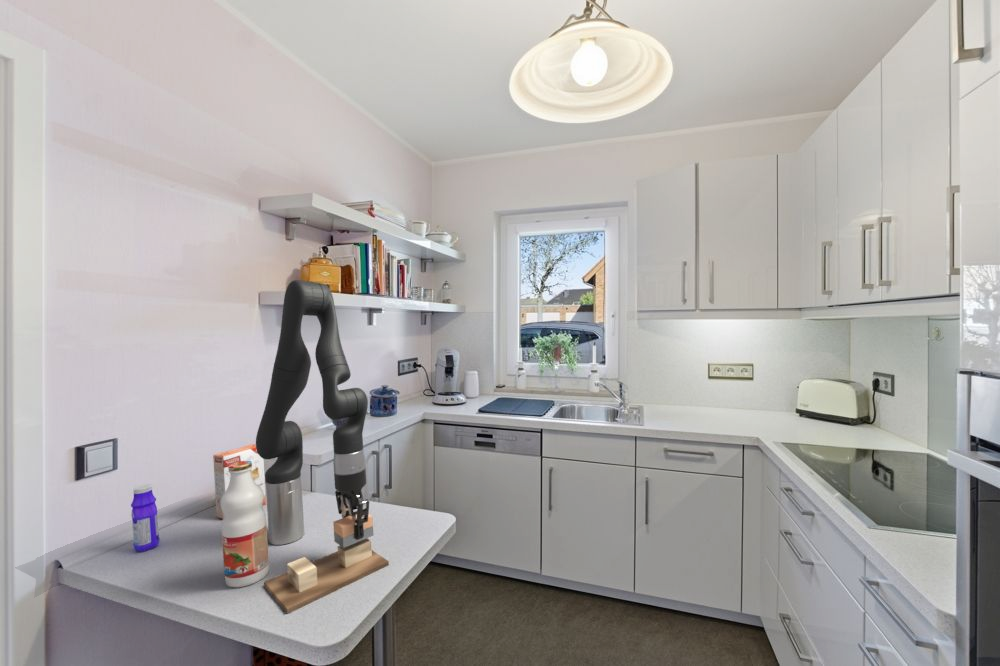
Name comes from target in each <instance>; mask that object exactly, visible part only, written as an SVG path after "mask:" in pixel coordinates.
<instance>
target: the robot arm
mask: <svg viewBox="0 0 1000 666" xmlns="http://www.w3.org/2000/svg"><path fill="white" fill-rule="evenodd" d="M333 296H334V295H333V293H332V290H331V288H330V287H329V286H328V285H327V284H325V283H322V282H316V281H308V280H299V279H295V280H292V281H290V283H288V285H287V286H286V290H285V293H284V296H283V298H284V299H283V305H282V313H281V314H282V315H281V316H282V317H281V326H280V334H279V340H278V346H277V351H276V354H275V358H274V363H273V368H272V373H271V378H270V385H269V389H268V394H267V397H266V402H265V407H264V410H263V413H262V417H261V419H260V422H259V425H258V428H257V433H256V436H255V437H256V438H255V444H256V449H257V452H258V454H259V456H260V457H261V458H263V459H264V460H272V459H273V460H274V459H276V458H277V459H276V460H275V462H273V464H272V465H271V466H270V467H269V468H268V469H267V470H266V471H265V472H264V476H265V496H266V512H267V513H266V514H267V524H268V525H267V526H268V530H267V531H268V543H269V544H271V545H275V546H281V545H288V544H291V543H293V542H295V541H298V540H299V539H302V538H303V536H304V535H305V521H304V519H305V517H304V505H303V504H304V503H303V486H302V473H301V471H302V468H303V464H304V458H303V457H304V454H303V453H304V452H303V447H304V444H303V433H302V430H301V428H300V426H299V424H298V423H297V422H295V421H293V420H287V421H286V419H287V416H288V413H290V410H291V408H292V407H293V405H295V403H296V402H297V400H298V399H299V398H300V396H301V395H302V393H303V391H304V390H305V388H306V387H307V383H308V381H309V376H310V372H311V371H310V370H311V366H312V360H311V356H310V353H309V351H308V348H307V346H306V344H305V341H304V339H303V336H302V321H303V317H304V316H311V317H316V318H317V320H318V321H319V324H320V333H319V336H318V340H317V344H316V346H315V353H314V354H315V355H314V356H315V360H316V361H315V362H316V365H317V369H318V371H319V374H320V378H321V381H322V409H323V411H324V414H325V415H326V417H328V418H329V419H331V420H333V421H335V420H336V421H337V420H341V419H346V418H347V421H346V423H344V424H343V425H342V426H340V427H338V428H336V429H334V431H333V432H332V446H333V473H334V474H333V475H334V479H333V480H334V488H335V491H334V494H335V499H336V505H337V512H338V514H339V515H341V519H342V518H345V517H348V516H352V519H353V524H354V538H355V539H356V540H358V539H361V538H363V537H364V529H363V523H365V522H368V514H369V512H370V511H369V510H370V500H369V498H367V499H364V496H363V492H362V490H363V488H364V487H365V486H366V484H367V470H366V458H365V457H366V456H365V451H364V440H363V439H364V437H363V432H364V431H363V430H364V427H365V426H364V425H365V420H366V416H367V412H368V405H369V404H368V403H369V400H368V395H367V394H366V392H365V391H364V390H363V389H362V388H360V387H352V388H346V389H340V390H339V388H338V386H339V385H342V384H344V383H346V382H347V381H349V379H350V378H351V370H350V367H349V364H348V361H347V358H346V355H345V353H344V349H343V346H342V343H341V338H340V332H339V331H340V330H339V325H338V318H337V313H336V307H335V302H334V301H335V300H334V297H333ZM355 510H356V511H355ZM356 515H357V519H356Z"/></svg>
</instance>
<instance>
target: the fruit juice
mask: <svg viewBox="0 0 1000 666" xmlns="http://www.w3.org/2000/svg"><path fill="white" fill-rule="evenodd" d="M251 469H252V462H251V461H240V462H235V463H232V464H230V465H229V468H228V470H229V473H230V475H231V476H230V482H229V486H228V488H227V490H226V492H225V493H224V495H223V496H222V498H221V510H222V512H223V515H224V517H223V519H222V521H221V530H220V531H221V542H222V543H221V544H222V556H223V568H224V569H223V570H224V580H225V584H226V586H228V587H230V588H242V587H247V586H250V585H253V584H255V583H257V582H260V581H261V580H262V579H264V578H265V577H266V576H267V575H268V573H269V570H270V560H269V559H270V557H269V544H268V543H269V541H268V530H267V518H266V512H265V510H264V508H263V500H264V494H263V491H262V489H261V488H260V487H259V486H258V485H257V484H256V483H255V482H254V480H253V477H252V474H251Z"/></svg>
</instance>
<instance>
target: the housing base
mask: <svg viewBox="0 0 1000 666" xmlns="http://www.w3.org/2000/svg"><path fill="white" fill-rule="evenodd" d="M374 535H375V533H374V525H373V526H371V527H369V528H366V529H364V537H363V538H361V539H358V540H356V539H355V538H354V534H351V535H349V536H346V537H344V538H342V537H341V536H340V535H338V534H337V533H335V532H334V531H333V538H334V539H333V541H334V543H336V544H337V545H338V546H341V547H343V548H345V547H347V546H350V545H352V544H354V543H357V542H359V541H361V540H364V539H366V538H368V539H369V538H371V537H373V536H374Z"/></svg>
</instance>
